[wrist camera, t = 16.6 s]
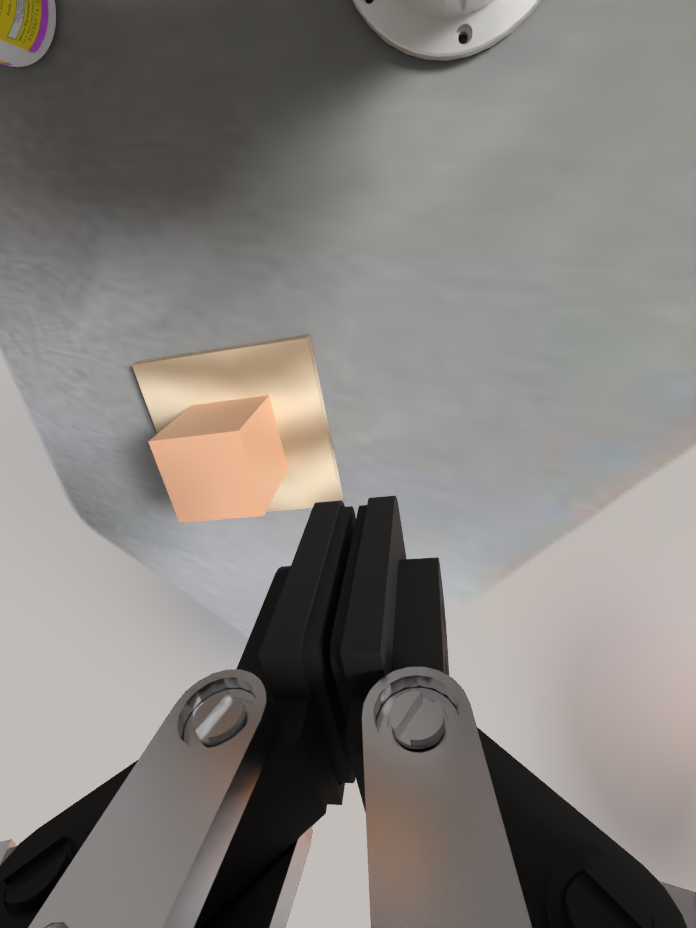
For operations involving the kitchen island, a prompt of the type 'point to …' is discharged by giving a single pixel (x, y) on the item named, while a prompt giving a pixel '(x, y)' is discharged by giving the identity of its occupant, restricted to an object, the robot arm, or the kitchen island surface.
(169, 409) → the birch board
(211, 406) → the peach tan cube
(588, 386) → the kitchen island surface
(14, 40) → the supplement bottle
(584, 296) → the kitchen island surface
